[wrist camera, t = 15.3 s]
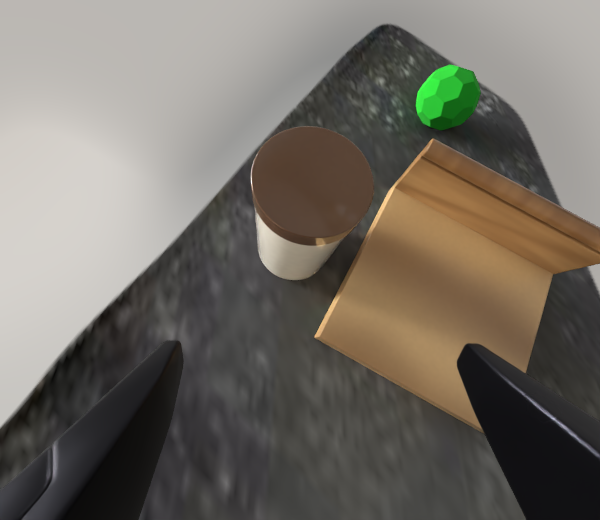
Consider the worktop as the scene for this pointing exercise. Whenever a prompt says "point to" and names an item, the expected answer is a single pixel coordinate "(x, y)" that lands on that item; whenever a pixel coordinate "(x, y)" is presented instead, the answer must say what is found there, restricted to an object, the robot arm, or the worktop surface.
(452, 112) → the polyhedron
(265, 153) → the cylinder
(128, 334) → the worktop surface
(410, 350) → the wooden ramp
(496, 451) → the robot arm
